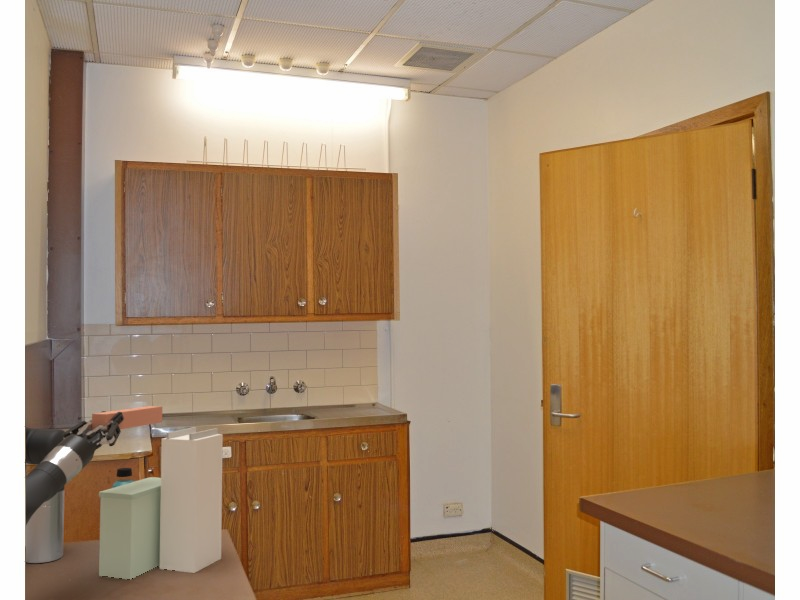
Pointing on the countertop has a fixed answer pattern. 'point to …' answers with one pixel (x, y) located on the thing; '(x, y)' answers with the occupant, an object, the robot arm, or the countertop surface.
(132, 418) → the long salmon orange block
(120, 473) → the beverage bottle
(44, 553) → the robot arm
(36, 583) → the countertop surface
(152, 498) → the pale mint green block
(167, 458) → the stand
